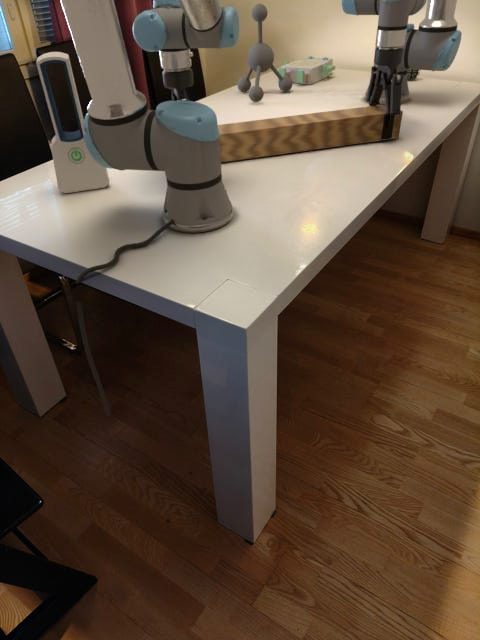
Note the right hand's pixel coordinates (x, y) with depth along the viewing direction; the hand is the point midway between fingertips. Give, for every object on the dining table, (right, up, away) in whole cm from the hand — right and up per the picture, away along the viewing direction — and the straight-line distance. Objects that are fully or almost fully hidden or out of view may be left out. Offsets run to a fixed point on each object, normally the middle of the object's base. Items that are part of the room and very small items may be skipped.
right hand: (379, 133), depth 144 cm
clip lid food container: (-13, +48, +64) cm, 81 cm away
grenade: (+28, +42, +54) cm, 74 cm away
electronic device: (-81, -21, -18) cm, 85 cm away
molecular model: (-31, +32, +46) cm, 64 cm away
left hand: (-56, -11, -9) cm, 57 cm away
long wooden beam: (-28, -6, -4) cm, 29 cm away
